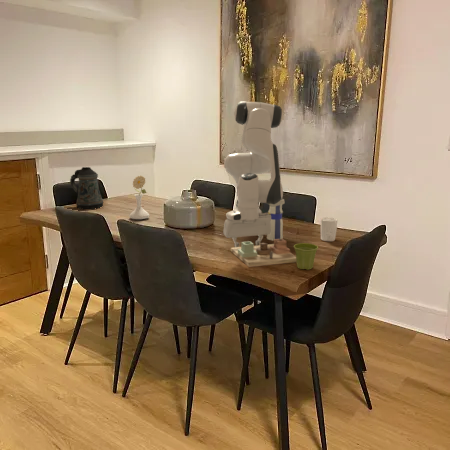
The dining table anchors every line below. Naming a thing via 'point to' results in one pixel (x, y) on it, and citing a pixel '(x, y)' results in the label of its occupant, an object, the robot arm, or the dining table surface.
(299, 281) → the dining table surface
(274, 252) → the plate
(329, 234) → the white cup
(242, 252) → the pale green pipe fitting
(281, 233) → the water bottle
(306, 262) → the plant pot
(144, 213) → the flower in vase
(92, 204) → the beer stein
